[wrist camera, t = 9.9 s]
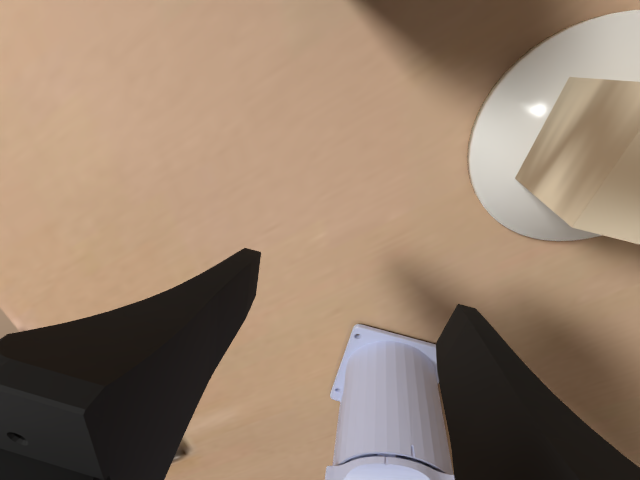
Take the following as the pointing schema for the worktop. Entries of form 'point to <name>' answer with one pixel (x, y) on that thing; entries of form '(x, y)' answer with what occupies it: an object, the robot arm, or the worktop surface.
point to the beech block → (590, 158)
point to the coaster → (542, 116)
